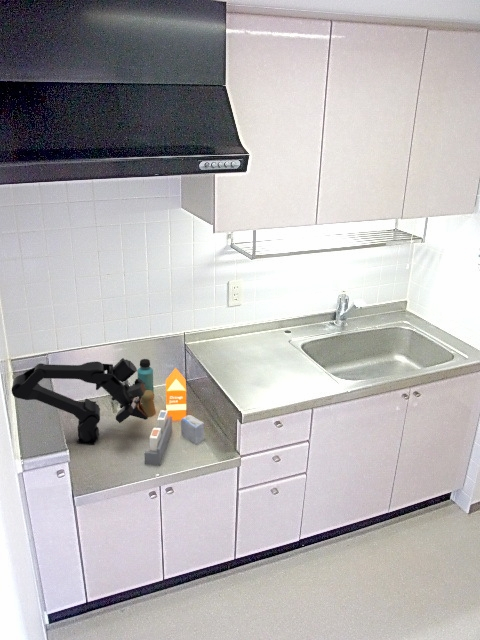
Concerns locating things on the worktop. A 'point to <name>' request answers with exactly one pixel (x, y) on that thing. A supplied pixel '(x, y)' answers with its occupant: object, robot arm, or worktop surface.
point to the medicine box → (192, 429)
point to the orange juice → (176, 395)
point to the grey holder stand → (160, 446)
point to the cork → (148, 403)
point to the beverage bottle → (146, 374)
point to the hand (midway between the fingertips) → (147, 418)
